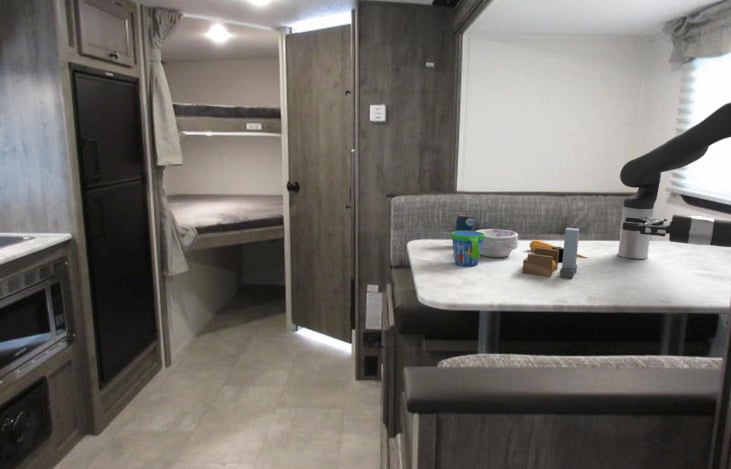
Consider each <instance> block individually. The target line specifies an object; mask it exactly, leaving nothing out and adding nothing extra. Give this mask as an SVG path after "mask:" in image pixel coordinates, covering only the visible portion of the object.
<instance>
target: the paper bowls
mask: <svg viewBox="0 0 731 469" xmlns="http://www.w3.org/2000/svg"><path fill="white" fill-rule="evenodd" d="M476 231H477V232H481V233H484V235H485V238H484V240H483V242H482V248H481V253H480V255H482V256H485V257H490V258H505V257H508V256H510V255H511V253H512V251H513V250H516V249H517V248H518V244H519V233H517V231H516V232H515V231H513V230H508V229H498V228H485V229H478V230H476Z"/></svg>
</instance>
